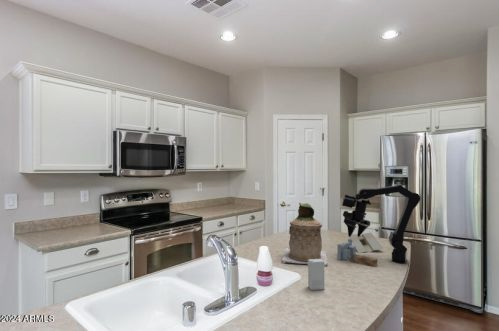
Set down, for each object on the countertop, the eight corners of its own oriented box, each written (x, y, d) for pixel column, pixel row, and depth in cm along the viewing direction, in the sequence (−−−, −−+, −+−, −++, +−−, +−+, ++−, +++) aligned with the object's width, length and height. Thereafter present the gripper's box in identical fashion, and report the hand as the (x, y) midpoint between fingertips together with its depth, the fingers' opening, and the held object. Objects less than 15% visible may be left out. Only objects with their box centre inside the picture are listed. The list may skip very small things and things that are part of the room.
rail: (377, 265, 159) (377, 258, 159) (375, 267, 156) (375, 260, 156) (353, 260, 167) (353, 254, 167) (350, 261, 165) (350, 255, 165)
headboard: (357, 253, 180) (357, 239, 180) (345, 261, 165) (345, 245, 165) (348, 252, 183) (348, 237, 183) (336, 259, 169) (336, 243, 169)
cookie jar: (328, 267, 156) (328, 205, 156) (281, 263, 161) (281, 204, 161) (326, 253, 180) (326, 200, 180) (285, 251, 185) (285, 199, 185)
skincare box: (321, 285, 131) (321, 258, 131) (324, 290, 127) (324, 261, 127) (307, 286, 131) (307, 258, 131) (310, 290, 126) (310, 261, 126)
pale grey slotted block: (381, 256, 189) (370, 236, 200) (384, 248, 183) (373, 228, 194) (356, 260, 188) (346, 240, 199) (358, 253, 182) (348, 232, 193)
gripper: (356, 206, 183) (350, 231, 184) (338, 205, 172) (332, 231, 172) (373, 212, 174) (367, 238, 175) (355, 211, 163) (349, 238, 164)
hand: (353, 236), depth 172 cm, fingers open, 9 cm apart
